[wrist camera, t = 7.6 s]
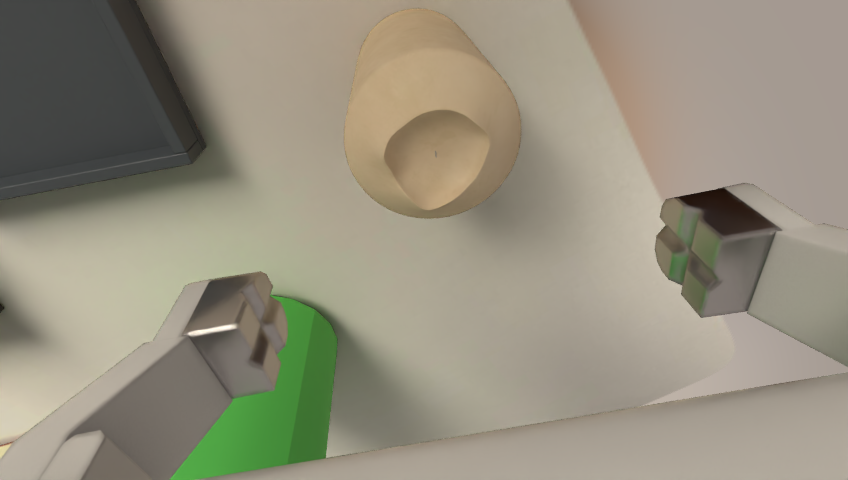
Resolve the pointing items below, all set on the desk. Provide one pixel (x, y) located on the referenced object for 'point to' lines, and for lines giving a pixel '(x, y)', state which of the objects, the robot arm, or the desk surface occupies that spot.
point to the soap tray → (85, 97)
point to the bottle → (276, 407)
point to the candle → (428, 118)
